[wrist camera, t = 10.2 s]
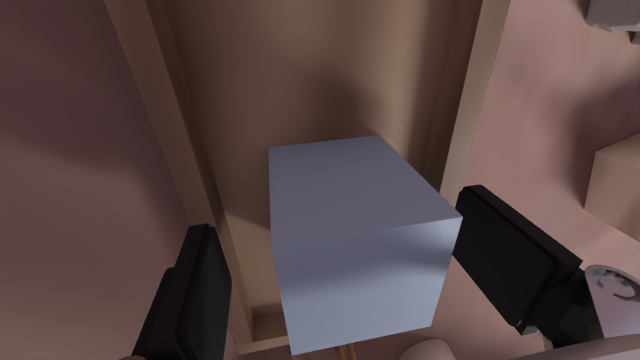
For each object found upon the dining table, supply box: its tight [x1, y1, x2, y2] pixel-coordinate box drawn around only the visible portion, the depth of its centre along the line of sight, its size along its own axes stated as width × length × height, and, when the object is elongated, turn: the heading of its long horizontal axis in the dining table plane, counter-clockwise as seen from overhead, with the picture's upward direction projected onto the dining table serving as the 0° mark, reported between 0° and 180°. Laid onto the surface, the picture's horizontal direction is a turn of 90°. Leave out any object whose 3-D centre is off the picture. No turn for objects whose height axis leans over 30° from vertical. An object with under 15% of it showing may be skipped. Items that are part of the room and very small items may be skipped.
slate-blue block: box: [268, 135, 463, 356], centre depth 11 cm, size 5×5×6 cm
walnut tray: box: [104, 0, 511, 355], centre depth 13 cm, size 12×20×2 cm, turn 2°
